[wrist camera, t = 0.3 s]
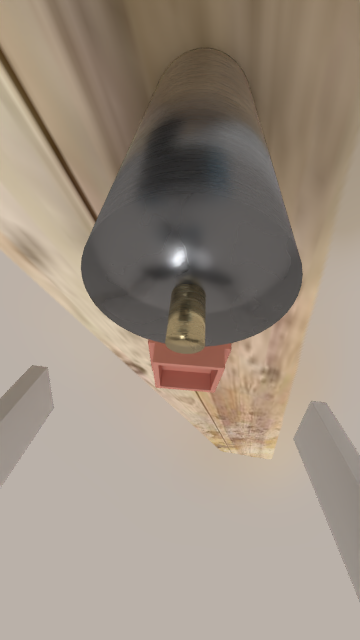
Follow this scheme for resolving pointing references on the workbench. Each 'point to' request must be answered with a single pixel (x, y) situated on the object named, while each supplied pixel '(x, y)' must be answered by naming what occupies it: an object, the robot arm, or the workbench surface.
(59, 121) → the workbench surface
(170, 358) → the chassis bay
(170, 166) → the motor housing
